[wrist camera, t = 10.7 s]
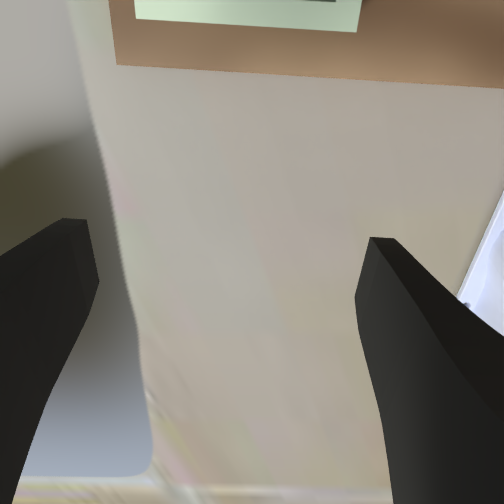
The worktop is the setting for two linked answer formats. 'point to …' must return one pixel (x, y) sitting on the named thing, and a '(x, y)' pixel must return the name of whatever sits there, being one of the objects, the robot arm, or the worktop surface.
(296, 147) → the worktop surface
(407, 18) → the board
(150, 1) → the frame
